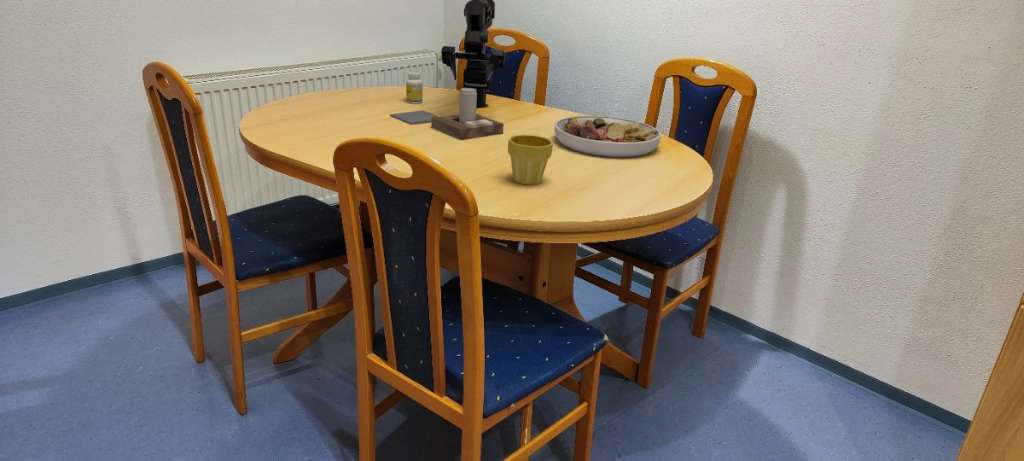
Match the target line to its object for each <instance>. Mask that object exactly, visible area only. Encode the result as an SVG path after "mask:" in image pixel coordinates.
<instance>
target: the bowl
mask: <svg viewBox="0 0 1024 461" xmlns="http://www.w3.org/2000/svg"><path fill="white" fill-rule="evenodd" d="M553 129H554V135H555V137H556V139H557V140H558V142H560V144H562V145H563V146H565V147H566V148H569V149H571V150H572V151H576V152H580V153H583V154H586V155H592V156H598V157H605V158H606V157H607V158H608V157H609V158H634V157H639V156H644V155H647V154H650V153H652V151H654V150H655V149H657V147H658V146H659V145H660V142H661V138H662V133H661V131H660V130H659V129H657V128H655V127H653V126H652V125H649V124H647V123H644V122H640V121H636V120H632V119H629V118H628V119H626V118H620V117H614V116H604V115H577V116H569V117H564V118H560V119H558V120H557V121H556V122H554V128H553Z"/></svg>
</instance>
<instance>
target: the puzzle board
mask: <svg viewBox="0 0 1024 461" xmlns="http://www.w3.org/2000/svg"><path fill="white" fill-rule="evenodd" d="M430 123H431V124H430V127H431V128H432V129H433V130H436V131H438V132H441V133H443V134H446V135H448V136H451V137H453V138H456V139H458V140H460V141H464V140H465V141H466V140H470V139H475V138H476V139H477V138H483V137H489V136H490V137H492V136H496V135H502V134H504V125H505V124H504V123H503V122H501V121H498V120H495V119H492V118H489V117H486V116H484V115H481V114H479V113H476V121H469V122H465V124H462V123H459V113H457V114H449V115H442V116H439V117H432V118H431V122H430Z"/></svg>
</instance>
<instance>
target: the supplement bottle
mask: <svg viewBox="0 0 1024 461" xmlns="http://www.w3.org/2000/svg"><path fill="white" fill-rule="evenodd" d="M407 75H408V76H407V77H408V78H407V79H406V81H405V82H406V86H405V87H406V91H405V92H406V96H405V98H406V101H405V102H406V103H408V104H413V105H414V104H416V105H418V104H422V103H423V101H424V100H423V96H424V95H423V93H424V92H423V84H424V83H423V80H422V79H421V73H420V72H417V71H412V72H411V71H409V72H408V74H407Z"/></svg>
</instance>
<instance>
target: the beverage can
mask: <svg viewBox="0 0 1024 461" xmlns="http://www.w3.org/2000/svg"><path fill="white" fill-rule="evenodd" d="M476 91H477V90H476V89H472V88H460V91H459V113H458V114H459V123H462V124H465V122H469V121H476V114H477V108H476V103H477V92H476Z"/></svg>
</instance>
